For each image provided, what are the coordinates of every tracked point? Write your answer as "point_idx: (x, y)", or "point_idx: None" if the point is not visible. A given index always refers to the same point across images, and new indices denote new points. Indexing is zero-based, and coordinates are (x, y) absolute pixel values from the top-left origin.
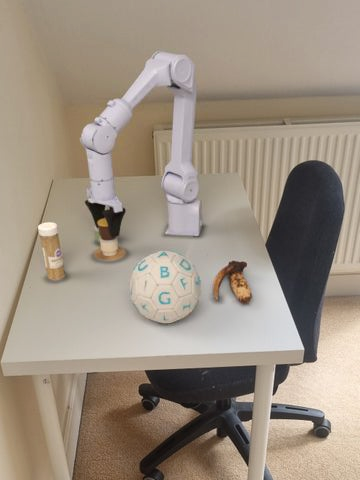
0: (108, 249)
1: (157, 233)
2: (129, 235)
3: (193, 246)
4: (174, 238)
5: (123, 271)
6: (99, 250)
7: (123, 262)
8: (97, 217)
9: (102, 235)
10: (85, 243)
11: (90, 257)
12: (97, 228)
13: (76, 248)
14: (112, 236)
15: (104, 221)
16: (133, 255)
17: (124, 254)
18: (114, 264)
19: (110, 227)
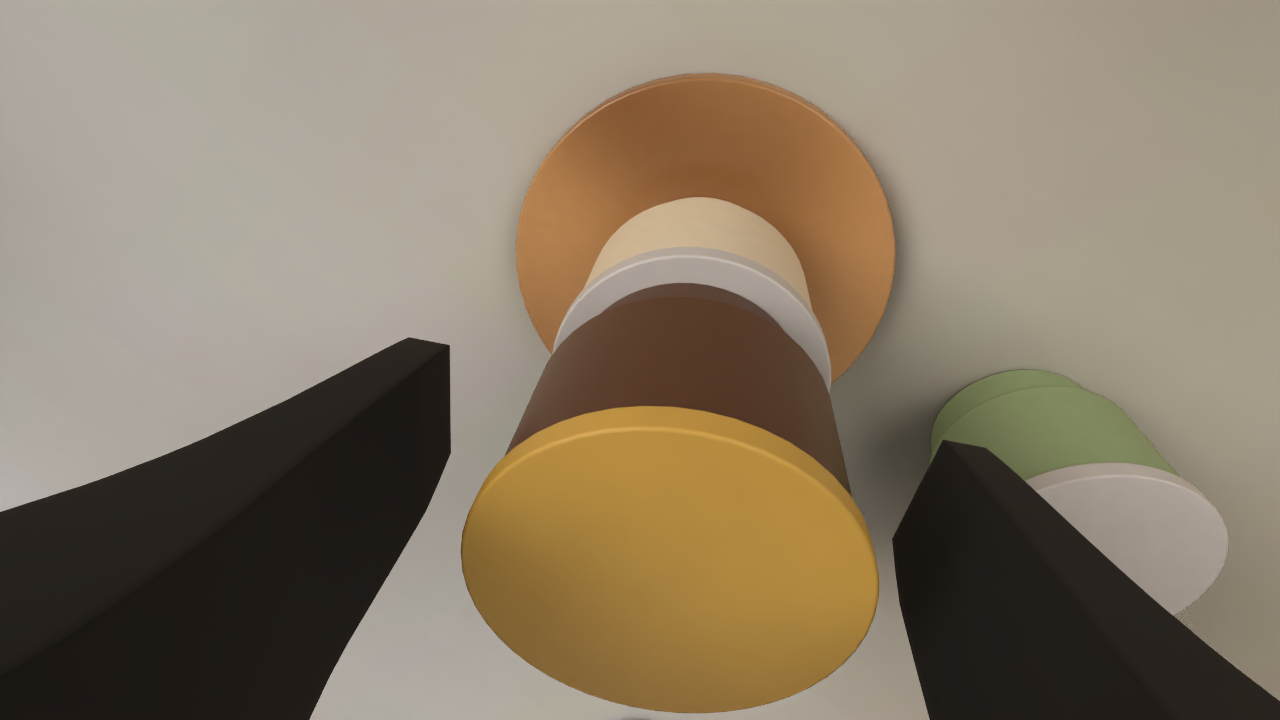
0: (611, 244)
1: (716, 716)
2: (880, 621)
3: (372, 686)
4: (558, 710)
5: (251, 92)
6: (858, 245)
7: (450, 242)
8: (1012, 632)
9: (639, 304)
10: (1216, 293)
11: (857, 62)
12: (1124, 511)
13: (1256, 115)
14: (393, 350)
15: (695, 575)
16: (522, 399)
17: (550, 347)
18: (470, 142)
19: (227, 431)
